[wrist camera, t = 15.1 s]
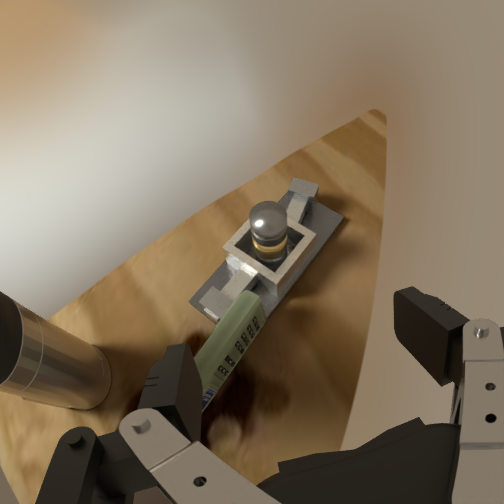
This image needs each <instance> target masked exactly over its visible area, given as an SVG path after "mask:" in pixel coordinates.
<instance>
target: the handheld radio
mask: <svg viewBox="0 0 504 504" xmlns="http://www.w3.org/2000/svg"><path fill="white" fill-rule="evenodd" d="M265 318H266V315H265V312H264V308H263V305H262V301H261V298H260V296H258V295H256V294H255V293H253V292H251V291H249V290H245V291H243V292H242V293H241V294H239V295H238V296H237V297H236V299H235V300H234V302H233V303H232V304H231V306H230V307H229V308H228V310H227V311H226V312H225V314H224V315H223V317H222V318H221V319H220V321H219V322H218V323H217V325H216V329H215V330H214V331H213V333H212V334H211V336H210V337H209V338H208V340H207V341H206V342H205V344H204V345H203V346H202V348H201V349H200V351H199V352H198V353H197V355H196V356H195V357H194V360H195V363H196V366H197V369H198V371H199V374H200V377H201V381H202V386H203V398H202V412H203V411H204V410H205V408H206V407H207V406H208V404H209V403H210V402H211V400H212V399H213V398H214V396H215V395H216V393H217V392H218V390H219V388H220V387H221V386H222V384H223V383H224V381H225V380H226V379H227V377H228V376H229V374H230V373H231V372H232V370H233V369H234V367H235V366H236V365H237V363H238V362H239V360H240V359H241V357H242V356H243V354H244V353H245V352H246V350H247V349H248V347H249V346H250V344H251V343H252V341H253V340H254V339H255V337H256V336H257V334H258V333H259V331H260V330H261V328H262V327H263V325H264V324H265V322H266V320H265ZM263 321H264V324H263Z"/></svg>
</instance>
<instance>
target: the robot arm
mask: <svg viewBox="0 0 504 504" xmlns="http://www.w3.org/2000/svg"><path fill="white" fill-rule="evenodd" d="M394 330H395V334H396V337H397V339H398V340H399V342H400V343H401V344H402V345H403V346H404V347H405V348H406V349H407V350H408V351H409V352H410V353H411V354H412V355H413V356H414V357H415V359H416V360H417V361H418V362H419V363H420V364H421V365H422V366H423V367H424V368H425V369H426V370H427V372H428V373H429V374H430V375H431V376H432V377H433V378H434V379H435V380H436V381H437V382H438V384H439V385H440V386H441V387H442V386H444V385H446V384H448V383H450V382H452V381H453V382H454V383H455V385H454V390H453V399H452V408H451V416H450V423H449V424H448V423H439V424H430V425H425V424H424V423H423V422H422V421H421V419H420V418H419V417H418V418H415V419H413V420H411V421H408V422H406V423H404V424H401V425H399V426H396V427H394V428H392V429H389V430H387V431H385V432H383V433H382V434H380V435H379V436H377V437H376V438H374V439H372V440H371V441H369V442H367V443H366V444H364V445H362V446H361V447H359V448H357V449H354V450H346V451H337V452H327V453H315V454H311V455H307V456H304V457H300V458H295V459H291V460H287V461H282V462H278V467H279V472H280V473H277V474H275V475H273V476H271V477H269V478H267V479H265V480H264V481H262V482H261V483H259V484H258V485H257V486H255V485H254V484H252V483H251V482H249V481H248V480H247V479H245V478H244V477H243V476H241V475H240V474H239V473H237V472H236V471H235V470H233V469H232V468H231V467H229V466H228V465H227V464H226V463H224V462H223V461H222V460H221V459H219V458H218V457H217V456H216V455H214V454H213V453H212V452H211V451H210V450H208V449H207V448H206V447H205V446H204V445H202V444H201V443H200V437H201V417H202V398H203V386H202V381H201V377H200V374H199V371H198V369H197V366H196V363H195V360H194V358H193V355H192V352H191V349H190V347H189V345H188V343H182V344H177V345H171V346H168V347H167V349H166V353H165V357H164V360H160V361H157V362H156V363H155V364H154V365H153V366H152V367H151V368H150V369H149V373H148V376H147V380H146V382H145V385H144V386H145V387H144V389H143V392H142V395H141V398H140V402H139V405H138V408H137V410H136V411H133V412H131V413H130V414H128V415H127V416H126V417H125V418H124V419H123V420H122V421H121V423H120V426H119V430H118V431H115V432H112V433H109V434H105V435H102V436H98V437H97V435H96V434H95V432H94V431H93V430H92V429H91V428H88V427H76V428H73V429H71V430H69V431H68V432H66V433H65V434H64V435H63V436H62V437H61V438H60V440H59V442H58V444H57V447H56V449H55V452H54V454H53V457H52V459H51V462H50V464H49V467H48V470H47V472H46V475H45V478H44V480H43V483H42V486H41V489H40V492H39V494H38V497H37V500H36V503H35V504H133V499H134V492H137V491H141V490H144V489H148V488H151V487H154V486H158V488H159V489H160V490H161V491H162V492H163V493H164V495H165V496H166V497H167V498H168V499H169V501H170V502H171V503H172V504H504V327H499V326H498V325H497V324H496V323H495V322H493V321H491V320H488V319H474V320H471V321H470V320H469V319H467V318H466V317H464V316H463V315H462V314H460V313H459V312H458V311H456V310H455V309H453V308H451V307H450V306H449V305H447V304H445V302H443V301H441V300H440V299H439V298H437V297H433V296H431V295H427V294H423V293H422V292H420V291H419V290H418V289H416V288H415V287H412V286H411V287H408V288H405V289H402V290H399V291H396V292H395V293H394ZM110 385H111V369H110V365H109V362H108V360H107V358H106V356H105V355H104V354H103V353H102V351H100V350H99V349H98V348H97V347H95V346H93V345H91V344H89V343H87V342H85V341H83V340H81V339H80V338H78V337H76V336H74V335H72V334H70V333H68V332H67V331H65V330H63V329H61V328H59V327H58V326H56V325H54V324H52V323H51V322H49V321H47V320H45V319H44V318H42V317H40V316H39V315H37V314H35V313H34V312H32V311H31V310H29V309H27V308H25V307H24V306H22V305H21V304H19V303H17V302H16V301H14V300H13V299H11V298H10V297H8V296H7V295H5V294H3V293H2V292H0V391H3V392H6V393H10V394H14V395H18V396H21V397H22V398H23V399H24V400H28V401H32V402H37V403H41V404H46V405H51V406H56V407H61V408H67V409H68V408H70V407H71V408H76V409H85V410H87V409H92V408H94V407H96V406H98V405H99V404H100V403H101V402H102V401H103V400H104V399H105V397H106V396H107V394H108V391H109V389H110Z"/></svg>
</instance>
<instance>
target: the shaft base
mask: <svg viewBox="0 0 504 504" xmlns="http://www.w3.org/2000/svg"><path fill="white" fill-rule="evenodd" d="M318 189H319V184H316V183H312V182H308V181H305V180H301V179H298V178H293V180H292V182H291V184H290V186H289V189H288V192H287V193H286V194H285V195H284V196H283V197H282V198H281V199H280V200H279V202H278V203H279V204H280V205H282V206H283V207H284V208H285V210H286V212H287V258H286V260H285V261H284V262H283V263H282V265H281V266H280V267H279V268H278V269H277V271H271V270H270V269H268V268H267V267H265V266H264V265H262V264H261V263H259V262H258V261H256V257H255V251H254V245H253V239H252V233H251V227H250V221H249V219H248V220H247V221H246V222H245V223H244V224H243V225H242V227H241V228H240V229H239V230H238V231H237V232H236V233H235V234H234V235H233V236H232V237H231V238H230V239H229V241H228V242H227V243H226V244H225V245H224V246H223V247H222V249H223V252H224V255H225V258H226V260H225V261H224V262H223V263H222V265H221V266H220V267H219V268H218V269H217V270H216V271H215V272H214V273H213V275H212V276H211V277H210V278H209V279H208V280H207V281H206V282H205V283H204V285H203V286H202V287H201V288H200V289H199V290H198V291H197V292H196V294H195V295H194V296H193V297H192V298H191V299H190V300H189V303H190V304H191V305H192V306H194V307H195V308H196V309H197V310H199V311H200V312H201V313H202V314H204V315H205V316H206V317H207V318H209V319H210V320H211V321H212V322H214V323H215V324H216V325H217V323H218V322H219V321H220V319H221V318H222V317H223V315H224V314H225V312H226V311H227V310H228V308H229V307H230V306H231V304H232V303H233V302H234V300H235V299H236V297H237V296H238V295H239V294H241V293H242V292H243V291H245V290H249V291H251V292H253V293H255V294H256V295H258V296H260V298H261V301H262V305H263V308H264V312H265V315H266V318H265V320H266V321H267V320H268V318H269V317H270V316H271V315H272V313H273V312H274V311H275V310H276V308H277V307H278V306H279V304H280V303H281V302H282V301H283V299H284V298H285V297H286V296H287V294H288V293H289V292H290V290H291V289H292V288H293V287H294V285H295V284H296V283H297V281H298V280H299V279H300V278H301V276H302V275H303V274H304V272H305V271H306V270H307V268H308V267H309V266H310V265H311V263H312V262H313V261H314V259H315V258H316V257H317V255H318V254H319V253H320V251H321V250H322V249H323V247H324V246H325V245H326V243H327V242H328V241H329V239H330V238H331V237H332V235H333V234H334V233H335V231H336V230H337V228H338V227H339V226H340V224H341V223H342V222H343V219H344V216H342V215H340V214H338V213H337V212H335V211H333V210H331V209H329V208H328V207H326V206H324V205H322V204H320V203H319V202H317V199H318ZM263 324H264V321H263Z"/></svg>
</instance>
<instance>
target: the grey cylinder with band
mask: <svg viewBox="0 0 504 504" xmlns="http://www.w3.org/2000/svg"><path fill="white" fill-rule="evenodd" d="M249 221H250V227H251V233H252V239H253V245H254V251H255V257H256V261H258V262H259V263H261V264H262V265H264V266H265V267H267V268H268V269H270V270H271V271H277V269H278V268H279V267H280V266H281V265H282V263H283V262H284V261H285V260H286V258H287V212H286V210H285V208H284V207H283V206H282V205H280V204H279V203H277V202H273V201H264V202H261V203H258V204H257V205H255V206H254V207H253V208H252V209H251V211H250V214H249Z"/></svg>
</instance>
